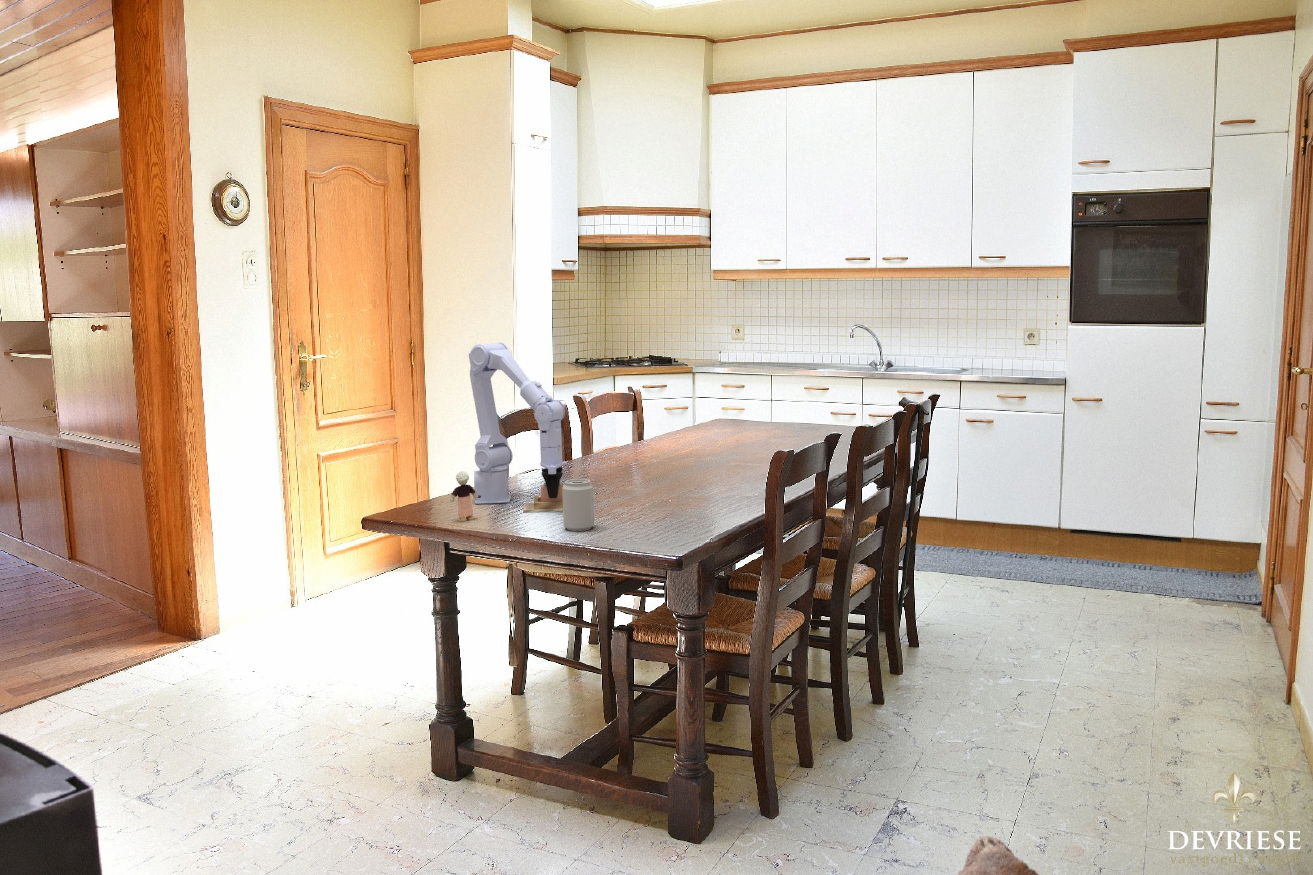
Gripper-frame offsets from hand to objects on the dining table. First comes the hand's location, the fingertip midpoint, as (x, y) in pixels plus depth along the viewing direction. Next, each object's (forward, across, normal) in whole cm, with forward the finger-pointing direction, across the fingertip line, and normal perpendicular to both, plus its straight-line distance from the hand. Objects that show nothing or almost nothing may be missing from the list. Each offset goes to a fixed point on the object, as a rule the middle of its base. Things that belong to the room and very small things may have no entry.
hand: (553, 496), depth 276 cm
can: (+3, -26, -6) cm, 27 cm away
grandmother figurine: (+3, -10, +23) cm, 25 cm away
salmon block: (+3, 0, 0) cm, 3 cm away
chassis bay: (+3, 0, 0) cm, 3 cm away
